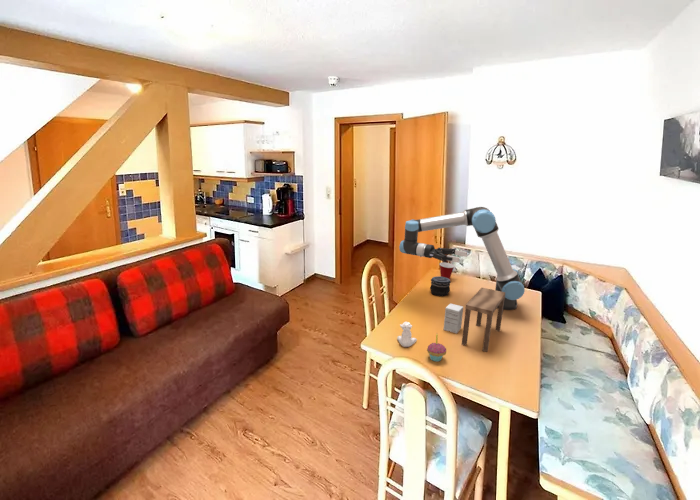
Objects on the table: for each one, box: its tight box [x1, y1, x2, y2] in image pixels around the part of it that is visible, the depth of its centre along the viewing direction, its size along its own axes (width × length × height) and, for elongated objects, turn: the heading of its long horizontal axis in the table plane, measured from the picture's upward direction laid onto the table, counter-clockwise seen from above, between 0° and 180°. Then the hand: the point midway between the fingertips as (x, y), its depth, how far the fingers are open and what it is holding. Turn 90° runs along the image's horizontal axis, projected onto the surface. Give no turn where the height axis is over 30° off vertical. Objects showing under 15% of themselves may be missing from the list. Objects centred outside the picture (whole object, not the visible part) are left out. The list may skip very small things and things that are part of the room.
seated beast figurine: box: [396, 321, 418, 348], centre depth 182 cm, size 10×9×12 cm
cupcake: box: [426, 333, 447, 362], centre depth 170 cm, size 9×8×12 cm
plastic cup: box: [439, 261, 456, 280], centre depth 271 cm, size 11×11×12 cm
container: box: [429, 275, 452, 297], centre depth 247 cm, size 13×13×10 cm
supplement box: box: [443, 303, 464, 334], centre depth 198 cm, size 7×7×13 cm
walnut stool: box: [461, 287, 505, 353], centre depth 189 cm, size 12×28×21 cm, turn 147°
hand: (463, 257), depth 205 cm, fingers open, 13 cm apart
